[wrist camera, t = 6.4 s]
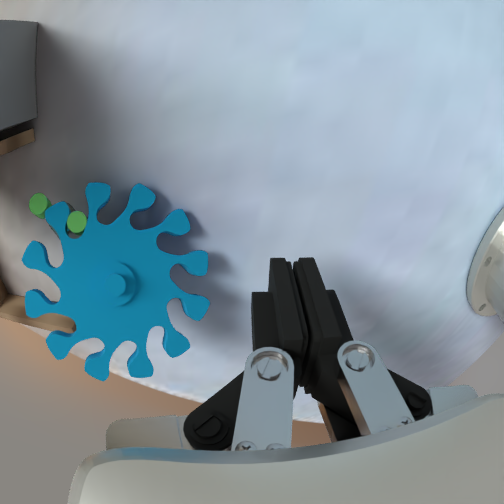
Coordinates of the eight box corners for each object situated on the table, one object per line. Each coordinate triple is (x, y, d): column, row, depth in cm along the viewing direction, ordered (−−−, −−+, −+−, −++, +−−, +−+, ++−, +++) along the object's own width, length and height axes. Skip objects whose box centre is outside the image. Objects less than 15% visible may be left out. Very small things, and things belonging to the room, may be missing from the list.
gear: (252, 286, 15) (126, 421, 11) (210, 280, 20) (117, 379, 16) (118, 122, 11) (-28, 258, 7) (112, 162, 16) (8, 260, 13)
